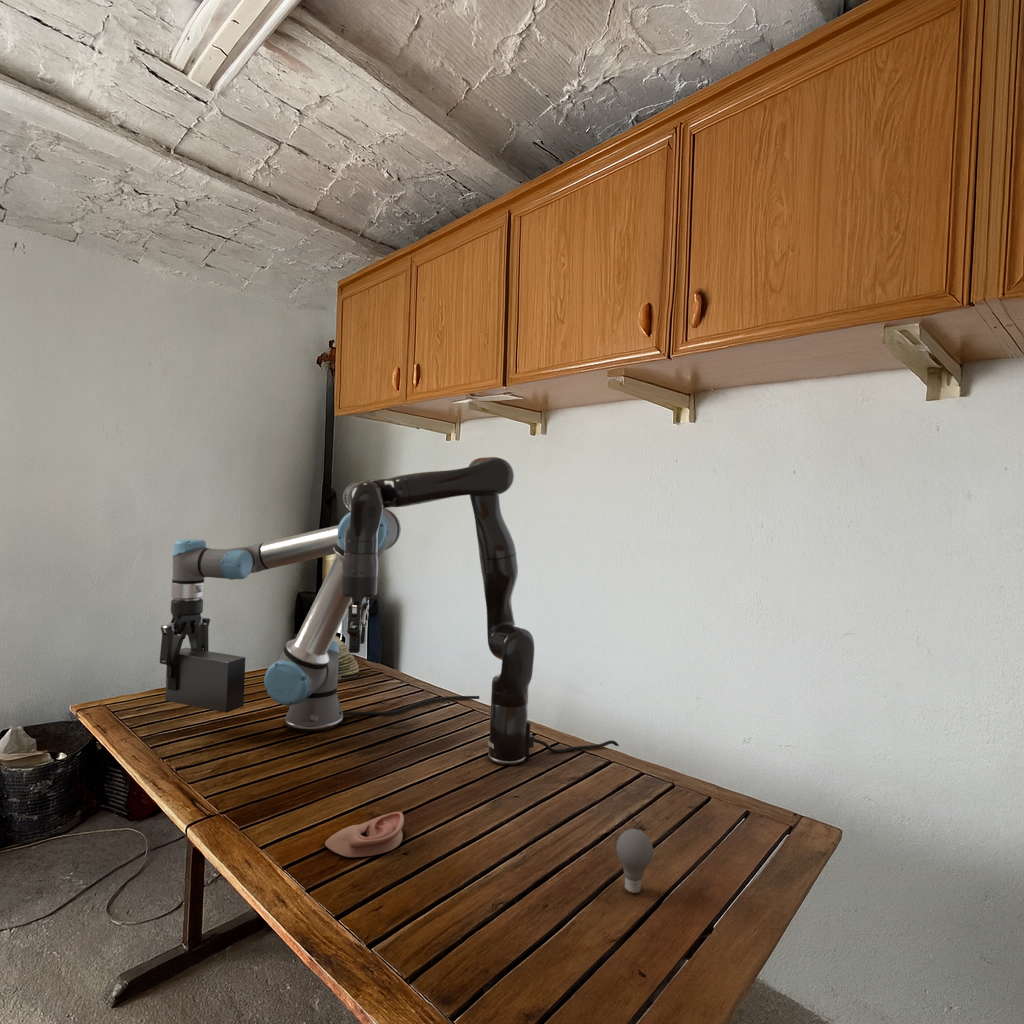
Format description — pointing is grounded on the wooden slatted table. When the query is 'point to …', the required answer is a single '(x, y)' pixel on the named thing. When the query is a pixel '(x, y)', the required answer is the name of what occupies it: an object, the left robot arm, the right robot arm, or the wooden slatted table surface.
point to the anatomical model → (368, 837)
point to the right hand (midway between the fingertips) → (357, 647)
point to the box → (209, 680)
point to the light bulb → (634, 857)
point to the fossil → (346, 661)
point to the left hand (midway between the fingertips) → (183, 686)
